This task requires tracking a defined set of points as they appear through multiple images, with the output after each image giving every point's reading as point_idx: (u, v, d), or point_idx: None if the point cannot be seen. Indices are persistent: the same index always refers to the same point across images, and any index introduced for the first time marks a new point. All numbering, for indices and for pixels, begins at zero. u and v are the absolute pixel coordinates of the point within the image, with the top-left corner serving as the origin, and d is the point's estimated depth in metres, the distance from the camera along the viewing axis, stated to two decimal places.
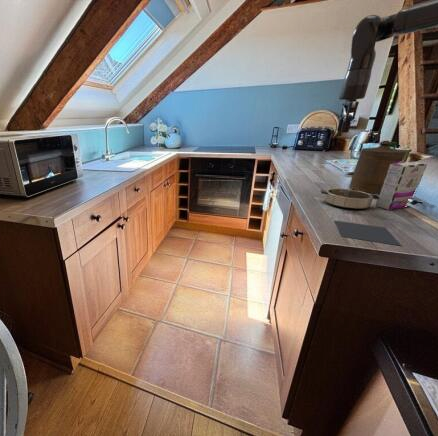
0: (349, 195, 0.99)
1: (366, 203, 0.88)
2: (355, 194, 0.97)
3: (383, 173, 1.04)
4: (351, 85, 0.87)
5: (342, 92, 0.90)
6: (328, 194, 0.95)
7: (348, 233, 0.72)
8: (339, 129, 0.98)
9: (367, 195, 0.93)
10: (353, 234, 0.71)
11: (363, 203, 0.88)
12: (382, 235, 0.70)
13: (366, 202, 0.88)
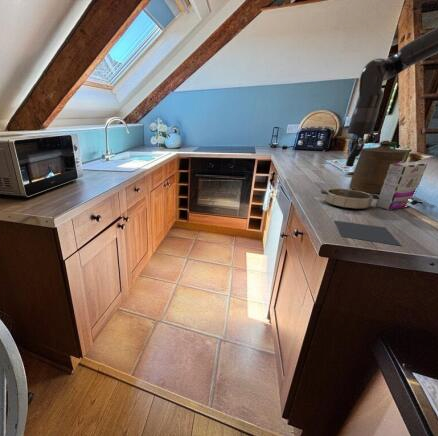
0: (349, 195, 0.99)
1: (366, 203, 0.88)
2: (355, 194, 0.97)
3: (383, 173, 1.04)
4: (359, 122, 0.91)
5: (350, 127, 0.94)
6: (328, 194, 0.95)
7: (348, 233, 0.72)
8: None
9: (367, 195, 0.93)
10: (353, 234, 0.71)
11: (363, 203, 0.88)
12: (382, 235, 0.70)
13: (366, 202, 0.88)
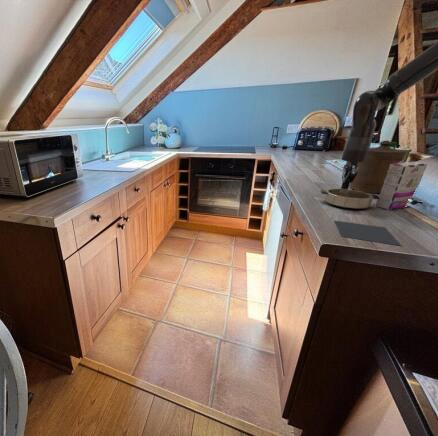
0: (349, 195, 0.99)
1: (366, 203, 0.88)
2: (355, 194, 0.97)
3: (383, 173, 1.04)
4: (353, 150, 0.93)
5: (344, 154, 0.96)
6: (328, 194, 0.95)
7: (348, 233, 0.72)
8: None
9: (367, 195, 0.93)
10: (353, 234, 0.71)
11: (363, 203, 0.88)
12: (382, 235, 0.70)
13: (366, 202, 0.88)
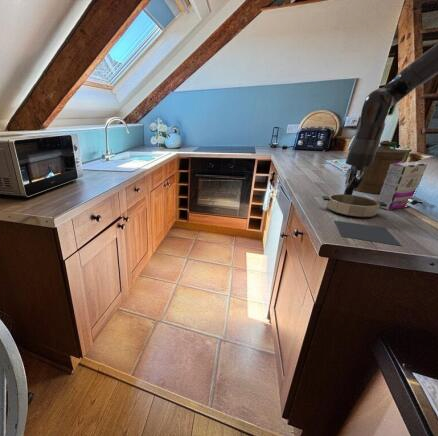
0: (353, 201, 0.92)
1: (372, 211, 0.81)
2: (360, 200, 0.90)
3: (383, 173, 1.04)
4: (358, 153, 0.85)
5: (349, 158, 0.88)
6: (331, 201, 0.87)
7: (348, 233, 0.72)
8: None
9: (373, 202, 0.85)
10: (353, 234, 0.71)
11: (369, 211, 0.81)
12: (382, 235, 0.70)
13: (372, 210, 0.80)
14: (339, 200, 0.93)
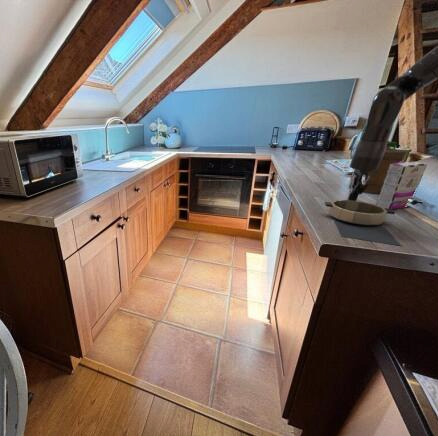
0: (357, 207, 0.85)
1: (379, 219, 0.74)
2: (365, 207, 0.84)
3: (383, 173, 1.04)
4: (364, 157, 0.79)
5: (353, 161, 0.82)
6: (334, 207, 0.81)
7: (348, 233, 0.72)
8: None
9: (379, 209, 0.79)
10: (353, 234, 0.71)
11: (376, 219, 0.74)
12: (382, 235, 0.70)
13: (379, 218, 0.74)
14: (343, 206, 0.87)
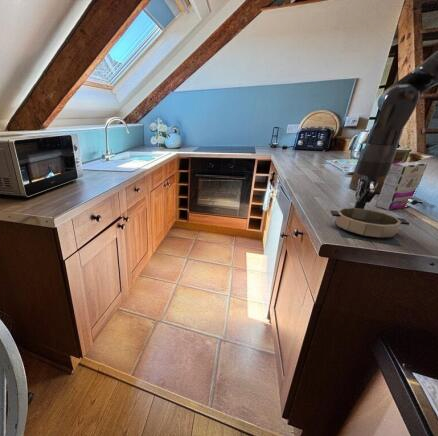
0: (365, 216, 0.78)
1: (393, 231, 0.67)
2: (374, 216, 0.76)
3: None
4: (372, 162, 0.72)
5: (360, 167, 0.75)
6: (341, 217, 0.73)
7: (348, 233, 0.72)
8: None
9: (391, 218, 0.72)
10: (353, 234, 0.71)
11: (389, 231, 0.66)
12: None
13: (393, 229, 0.66)
14: (349, 215, 0.79)
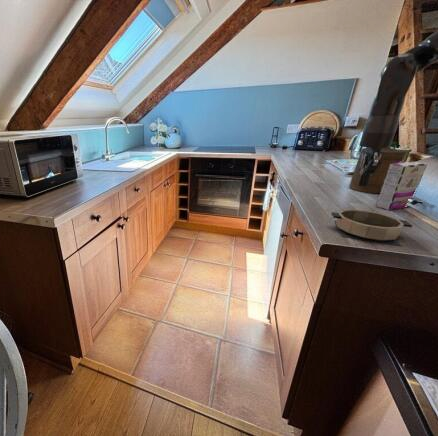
0: (367, 218, 0.76)
1: (396, 233, 0.65)
2: (376, 218, 0.74)
3: (383, 173, 1.04)
4: (375, 132, 0.73)
5: (363, 139, 0.76)
6: (343, 219, 0.72)
7: None
8: None
9: (393, 220, 0.70)
10: None
11: (392, 233, 0.65)
12: None
13: (396, 232, 0.65)
14: (351, 217, 0.78)
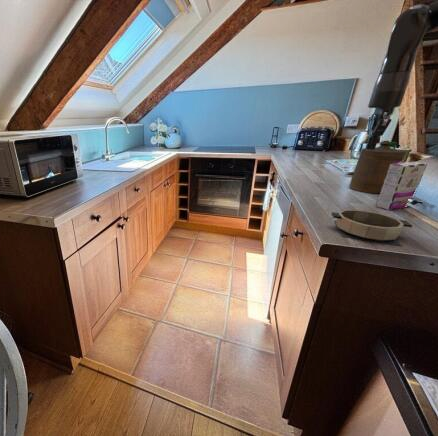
0: (367, 218, 0.76)
1: (396, 233, 0.65)
2: (376, 218, 0.74)
3: (383, 173, 1.04)
4: (385, 91, 0.72)
5: (373, 99, 0.75)
6: (343, 219, 0.72)
7: None
8: None
9: (393, 220, 0.70)
10: None
11: (392, 233, 0.65)
12: None
13: (396, 232, 0.65)
14: (351, 217, 0.78)
